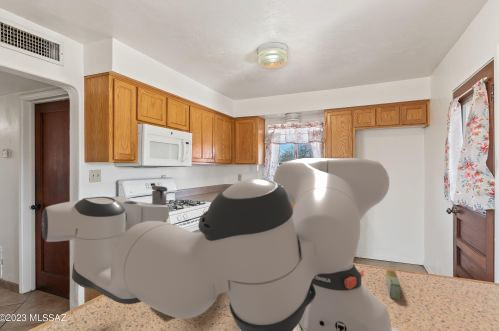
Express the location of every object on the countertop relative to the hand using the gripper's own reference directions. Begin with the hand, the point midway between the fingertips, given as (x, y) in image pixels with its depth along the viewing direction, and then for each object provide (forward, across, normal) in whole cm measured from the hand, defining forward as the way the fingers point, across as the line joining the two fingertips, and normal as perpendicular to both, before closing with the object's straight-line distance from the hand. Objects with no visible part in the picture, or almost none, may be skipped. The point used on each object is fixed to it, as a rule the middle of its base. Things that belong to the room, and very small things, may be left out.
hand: (161, 206), depth 81 cm
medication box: (+40, +57, -25) cm, 74 cm away
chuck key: (-1, 0, -7) cm, 7 cm away
